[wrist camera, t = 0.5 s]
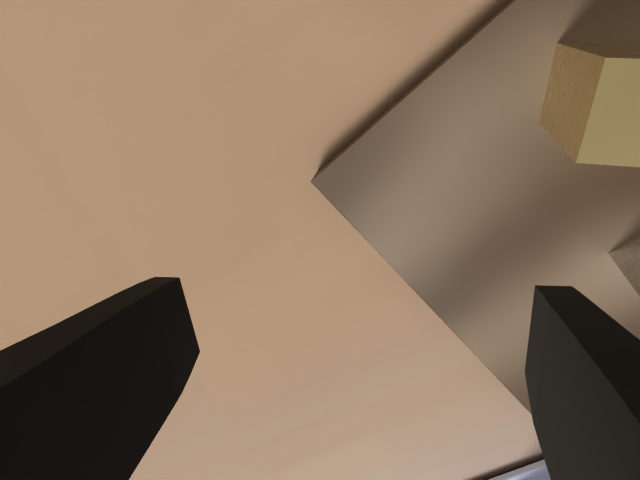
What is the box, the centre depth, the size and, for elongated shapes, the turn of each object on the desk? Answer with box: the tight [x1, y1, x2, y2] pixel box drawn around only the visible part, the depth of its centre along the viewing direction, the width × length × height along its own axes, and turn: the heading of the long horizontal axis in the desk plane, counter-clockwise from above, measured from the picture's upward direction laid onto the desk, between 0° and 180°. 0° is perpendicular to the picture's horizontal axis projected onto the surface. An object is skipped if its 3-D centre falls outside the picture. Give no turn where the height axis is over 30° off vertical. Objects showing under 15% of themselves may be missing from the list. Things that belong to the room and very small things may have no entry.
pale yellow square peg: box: [539, 43, 640, 167], centre depth 12 cm, size 2×2×4 cm
